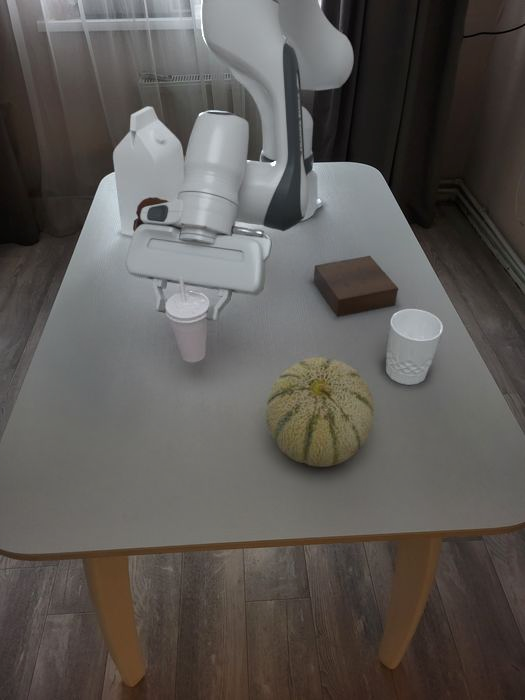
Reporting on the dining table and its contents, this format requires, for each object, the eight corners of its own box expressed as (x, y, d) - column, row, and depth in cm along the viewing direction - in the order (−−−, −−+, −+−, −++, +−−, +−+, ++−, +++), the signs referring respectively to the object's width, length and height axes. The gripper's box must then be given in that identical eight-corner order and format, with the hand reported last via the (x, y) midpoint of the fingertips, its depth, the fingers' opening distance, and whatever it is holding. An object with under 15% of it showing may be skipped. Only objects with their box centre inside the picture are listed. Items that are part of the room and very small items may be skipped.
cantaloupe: (339, 398, 88) (349, 323, 78) (386, 469, 77) (404, 394, 67) (251, 422, 84) (249, 347, 74) (287, 501, 73) (291, 426, 63)
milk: (151, 211, 135) (135, 98, 118) (192, 220, 131) (182, 106, 114) (122, 233, 127) (100, 116, 110) (165, 244, 123) (149, 124, 106)
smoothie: (188, 335, 89) (179, 261, 79) (222, 348, 86) (216, 273, 77) (163, 359, 84) (151, 283, 75) (198, 374, 82) (189, 297, 73)
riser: (313, 282, 112) (314, 265, 109) (367, 272, 115) (369, 255, 112) (337, 317, 103) (339, 299, 101) (395, 305, 106) (398, 288, 103)
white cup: (372, 362, 94) (381, 315, 87) (412, 350, 96) (423, 304, 89) (398, 393, 88) (409, 345, 82) (439, 380, 90) (453, 332, 84)
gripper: (277, 237, 81) (260, 330, 81) (148, 220, 85) (131, 308, 85) (270, 225, 75) (251, 325, 74) (131, 206, 79) (112, 302, 78)
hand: (186, 316), depth 80 cm, fingers closed on smoothie, 6 cm apart
